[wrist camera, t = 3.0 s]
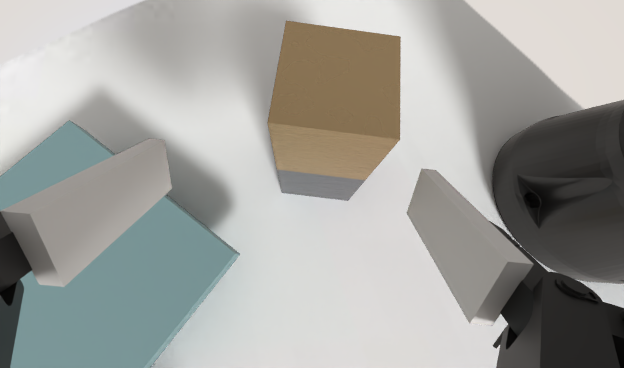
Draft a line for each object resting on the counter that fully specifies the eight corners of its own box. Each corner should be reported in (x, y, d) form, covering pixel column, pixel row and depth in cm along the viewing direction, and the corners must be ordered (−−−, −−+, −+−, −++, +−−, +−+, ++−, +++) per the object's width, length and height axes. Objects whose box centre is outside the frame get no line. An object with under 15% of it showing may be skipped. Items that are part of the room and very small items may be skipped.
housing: (351, 141, 25) (400, 36, 13) (347, 200, 23) (399, 139, 11) (290, 133, 25) (286, 20, 13) (281, 192, 23) (267, 122, 11)
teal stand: (247, 255, 21) (235, 253, 17) (87, 459, 17) (14, 528, 12) (111, 146, 23) (69, 120, 19) (-64, 303, 19) (-171, 316, 14)
